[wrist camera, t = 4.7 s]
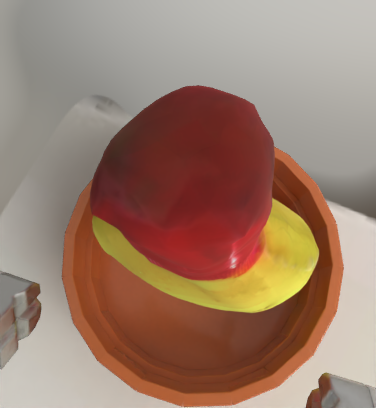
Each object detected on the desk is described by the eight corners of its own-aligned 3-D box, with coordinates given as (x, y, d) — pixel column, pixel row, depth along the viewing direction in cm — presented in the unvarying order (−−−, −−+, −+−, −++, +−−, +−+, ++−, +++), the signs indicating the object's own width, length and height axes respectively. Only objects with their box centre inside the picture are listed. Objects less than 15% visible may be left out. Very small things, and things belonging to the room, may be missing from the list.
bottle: (112, 277, 25) (-153, 200, 6) (139, 200, 27) (-3, -51, 8) (268, 325, 24) (546, 415, 5) (286, 240, 26) (546, 61, 7)
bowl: (55, 341, 25) (17, 352, 20) (130, 137, 30) (116, 101, 24) (288, 417, 23) (315, 451, 18) (330, 187, 28) (361, 160, 22)
